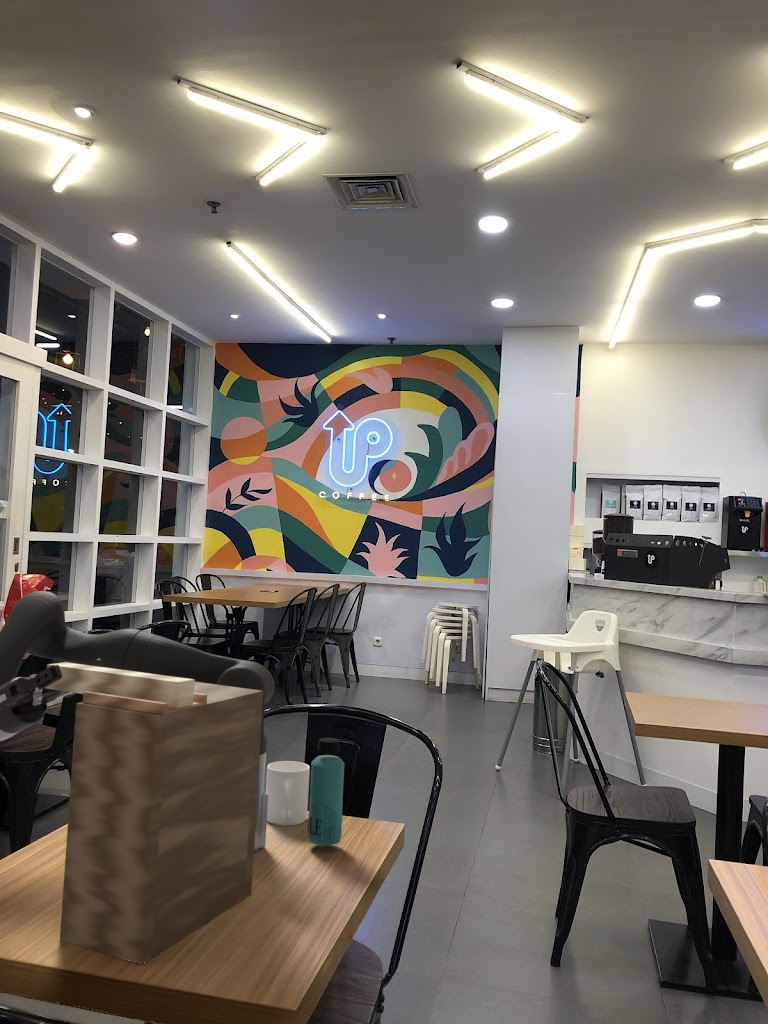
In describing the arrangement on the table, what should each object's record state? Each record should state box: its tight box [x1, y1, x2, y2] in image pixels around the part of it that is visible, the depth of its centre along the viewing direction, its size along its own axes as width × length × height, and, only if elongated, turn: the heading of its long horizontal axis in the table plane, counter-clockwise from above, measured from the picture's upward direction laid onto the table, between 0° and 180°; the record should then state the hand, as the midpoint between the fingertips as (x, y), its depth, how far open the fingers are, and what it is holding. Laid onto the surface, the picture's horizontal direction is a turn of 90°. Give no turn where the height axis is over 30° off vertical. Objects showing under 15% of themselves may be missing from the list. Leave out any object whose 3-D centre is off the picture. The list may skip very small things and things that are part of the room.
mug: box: [265, 760, 311, 827], centre depth 168 cm, size 9×12×11 cm
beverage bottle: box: [306, 737, 345, 846], centre depth 155 cm, size 6×7×20 cm
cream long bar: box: [46, 661, 195, 708], centre depth 120 cm, size 24×4×4 cm, turn 66°
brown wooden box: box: [59, 682, 263, 964], centre depth 124 cm, size 14×26×33 cm, turn 156°
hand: (80, 667), depth 123 cm, fingers open, 8 cm apart
